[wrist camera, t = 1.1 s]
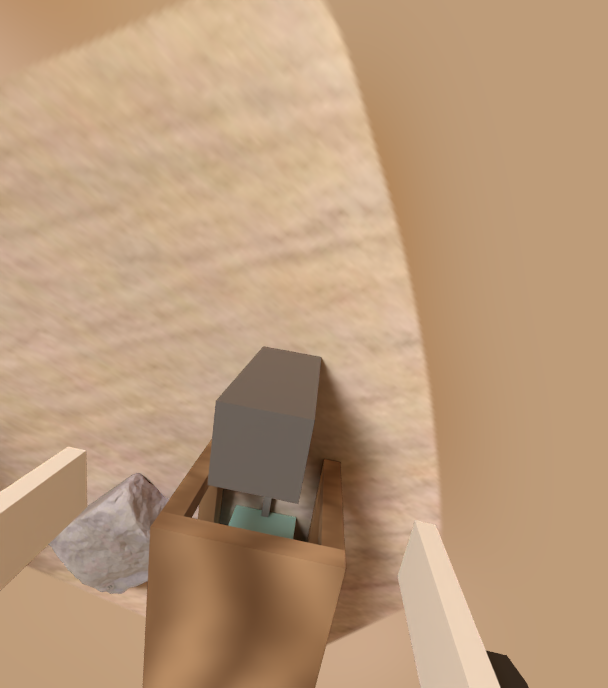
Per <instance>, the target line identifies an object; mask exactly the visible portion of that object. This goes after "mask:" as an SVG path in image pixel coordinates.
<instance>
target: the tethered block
mask: <svg viewBox="0 0 608 688" xmlns="http://www.w3.org/2000/svg"><path fill="white" fill-rule="evenodd" d="M320 366H321V357H317V356H312V355H307V354H301V353H296V352H290V351H285V350H280V349H274V348H269V347H263V348H262V349H261V350H260V351H259V352H258V353H257V354H256V356H255V357H254V358H253V359H252V360H251V361H250V362H249V364H248V365H247V366H246V367H245V368H244V369H243V370H242V372H241V373H240V374H239V375H238V376H237V377H236V379H235V380H234V381H233V382H232V383H231V384H230V385H229V387H228V388H227V389H226V390H225V391H224V392H223V393H222V395H221V396H220V397H219V398H218V399H217V400H216V406H215V415H214V425H213V435H212V445H211V455H210V465H209V474H208V484H207V485H210V486H215V487H219V488H224V489H229V490H234V491H239V492H244V493H248V494H253V495H258V496H263V497H264V501H263V507H262V510H258V509H254V508H249V507H244V506H239V505H236V507H235V510H234V512H233V515H232V517H231V520H230V522H229V525H228V526H232V527H237V528H242V529H246V530H251V531H256V532H261V533H265V534H270V535H275V536H279V537H284V538H289V539H293V537H294V529H295V522H296V517H292V516H287V515H282V514H278V513H273V512H270V507H271V501H272V498H273V499H277V500H282V501H287V502H292V503H297V504H298V503H299V498H300V493H301V488H302V483H303V478H304V473H305V468H306V462H307V457H308V452H309V447H310V442H311V437H312V432H313V427H314V421H315V413H316V404H317V394H318V385H319V375H320Z"/></svg>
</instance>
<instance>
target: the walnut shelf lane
mask: <svg viewBox="0 0 608 688" xmlns="http://www.w3.org/2000/svg"><path fill="white" fill-rule="evenodd" d="M211 445H212V439H211V441H210V442H209V444H208V445H207V446H206V448H205V449H204V451H203V452H202V454H201V455H200V456H199V458H198V459H197V461H196V462H195V464H194V465H193V466H192V468H191V469H190V471H189V472H188V474H187V475H186V476H185V478H184V479H183V481H182V482H181V484H180V485H179V486H178V488H177V489H176V491H175V492H174V494H173V495H172V496H171V498H170V499H169V501H168V502H167V504H166V505H165V506H164V508H163V509H162V511H161V512H160V514H159V515H158V516H157V518H156V519H155V521H154V522H153V524H152V525H151V526H150V544H149V565H148V586H147V607H146V629H145V649H144V670H143V671H144V672H143V688H315V685H316V682H317V678H318V674H319V670H320V667H321V663H322V659H323V655H324V651H325V647H326V643H327V640H328V636H329V632H330V628H331V624H332V620H333V616H334V613H335V609H336V605H337V601H338V597H339V593H340V589H341V586H342V582H343V578H344V574H345V570H346V560H345V541H344V522H343V502H342V483H341V463H340V462H337V461H332V460H327V459H324V463H323V467H322V472H321V477H320V482H319V486H318V491H317V496H316V501H315V505H314V510H313V515H312V519H311V524H310V529H309V534H308V538H307V542H303V541H298V540H294V539H289V538H284V537H279V536H275V535H270V534H265V533H261V532H256V531H251V530H246V529H242V528H237V527H232V526H227V525H223V524H219V520H220V511H221V503H222V494H223V488H219V487H215V486H210V485H207V484H208V474H209V465H210V455H211ZM198 505H199V513H198V519H194V518H192V516H193V514H194V512H195V511H196V509H197V507H198Z"/></svg>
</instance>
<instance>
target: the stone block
mask: <svg viewBox="0 0 608 688" xmlns="http://www.w3.org/2000/svg"><path fill="white" fill-rule="evenodd" d="M168 501H169V499H167V498H165V497H164V496H163V495H162V494H161V493H160V492H159V491H158V489H157V488H156V487H155V486H154V485H152V484H150V483H149V482H148V481H147V480H146V479H145V478H144V477H143V475H142V474H140V473H136V474H133V475H131V476H130V477H128V478H127V479H126V480H124V481H123V482H121V483H120V484H119V485H117V486H116V487H114V488H113V489H112V490H110V491H109V492H107V493H106V494H104V495H103V496H102V497H100V498H99V499H97V500H96V501H95V502H93V503H92V504H91V505H89V506H88V507H87V508H86V509H85V510H84V511H83V512H82V513H80V514H79V515H78V516H77V517H76V518H75V519H74V520H73V521H72V522H71V523H70V524H69V525H68V526H67V527H66V528H65V529H64V530H63V531H62V532H61V533H60V534H59V535H58V536H57V537H56V538H55V539H54V540H52V541H51V542H50V543H49V544H48V545H50V546H51V547H52V548H53V550H54V552H55V553H56V554H57V556H58V558H59V559H60V560H61V561H62V562H63V563H64V565H65V566H66V568H67V569H68V570H69V571H70V572H71V573H72V574H73V575H74V576H75V577H76V578H77V579H79V580H80V581H81V582H82V583H83V584H85V585H87V586H90V587H93V588H96V589H97V590H98V591H100V592H108V593H110V594H113V593H117V594H121V593H124V592H125V591H126V590H127V589H128V588H130V587H136V586H139V585H141V584H143V583H145V582H147V581H148V565H149V544H150V526H151V525H152V524H153V522H154V521H155V519H156V518H157V516H158V515H159V514H160V512H161V511H162V509H163V508H164V506H165V505H166V504H167V502H168Z"/></svg>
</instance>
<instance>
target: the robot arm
mask: <svg viewBox="0 0 608 688" xmlns="http://www.w3.org/2000/svg"><path fill="white" fill-rule="evenodd" d="M86 508H87V463H86V450H82V449H77V448H73V447H67V448H65V449H64V450H62V451H61V452H59V453H58V454H56V455H55V456H53V457H52V458H50V459H49V460H47V461H46V462H44V463H43V464H41V465H40V466H38V467H37V468H35V469H34V470H32V471H31V472H29V473H28V474H26V475H25V476H23V477H22V478H20V479H19V480H17V481H16V482H14V483H13V484H11V485H10V486H8V487H7V488H5V489H4V490H2V491H1V492H0V591H1V590H2V589H3V588H4V587H5V586H6V585H7V584H8V583H9V582H10V581H11V580H12V579H13V578H14V577H15V576H16V575H17V574H18V573H19V572H20V571H21V570H22V569H23V568H24V567H26V566H27V565H28V564H29V563H30V562H31V561H32V560H33V559H34V558H35V557H36V556H37V555H38V554H39V553H40V552H41V551H42V550H43V549H44V548H45V547H46V546H47V545H48V544H49V543H50V542H51V541H52V540H54V539H55V538H56V537H57V536H58V535H59V534H60V533H61V532H62V531H63V530H64V529H65V528H66V527H67V526H68V525H69V524H70V523H71V522H72V521H73V520H74V519H75V518H76V517H77V516H78V515H79V514H80V513H82V512H83V511H84V510H85V509H86ZM398 581H399V586H400V591H401V596H402V601H403V605H404V610H405V615H406V619H407V624H408V629H409V634H410V639H411V644H412V649H413V653H414V658H415V663H416V668H417V673H418V677H419V682H420V687H421V688H528V685H527V683H526V682H525V680H524V679H523V677H522V676H521V675H520V673H519V672H518V670H517V669H516V668H515V667H514V665H513V664H512V662H511V661H510V659H509V658H508V657H507V655H502V654H498V653H494V652H489V651H486V650H485V648H484V645H483V643H482V640H481V638H480V635H479V633H478V630H477V628H476V625H475V622H474V620H473V618H472V615H471V613H470V610H469V607H468V605H467V602H466V600H465V597H464V595H463V592H462V590H461V587H460V585H459V582H458V580H457V577H456V575H455V572H454V570H453V567H452V565H451V562H450V560H449V557H448V555H447V553H446V550H445V547H444V545H443V542H442V540H441V537H440V535H439V532H438V530H437V527H436V525H435V524H430V523H425V522H421V521H416V520H415V522H414V525H413V529H412V532H411V535H410V538H409V541H408V544H407V547H406V551H405V554H404V557H403V560H402V563H401V566H400V569H399V573H398Z"/></svg>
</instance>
